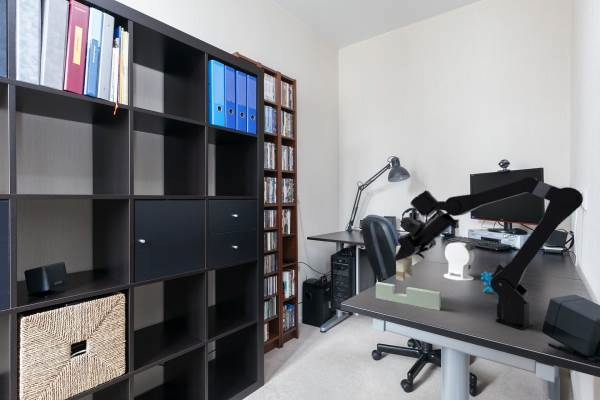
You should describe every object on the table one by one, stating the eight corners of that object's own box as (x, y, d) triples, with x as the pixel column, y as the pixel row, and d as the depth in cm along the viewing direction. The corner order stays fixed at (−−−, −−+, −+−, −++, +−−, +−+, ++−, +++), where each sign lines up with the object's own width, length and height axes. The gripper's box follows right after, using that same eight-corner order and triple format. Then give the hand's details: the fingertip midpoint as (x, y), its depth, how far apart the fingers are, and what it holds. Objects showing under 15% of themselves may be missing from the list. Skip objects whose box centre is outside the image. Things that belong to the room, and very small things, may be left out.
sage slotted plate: (440, 308, 96) (440, 292, 96) (439, 310, 94) (439, 293, 94) (377, 296, 107) (377, 282, 107) (375, 298, 106) (375, 283, 106)
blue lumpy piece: (496, 295, 103) (478, 269, 110) (483, 304, 106) (466, 278, 113) (517, 295, 108) (498, 271, 114) (503, 304, 111) (486, 279, 118)
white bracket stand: (480, 278, 130) (480, 243, 130) (464, 282, 125) (464, 245, 125) (454, 272, 141) (454, 239, 141) (437, 276, 135) (437, 241, 135)
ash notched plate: (405, 275, 108) (405, 244, 108) (412, 276, 107) (412, 244, 107) (396, 279, 103) (396, 246, 103) (403, 280, 102) (403, 247, 102)
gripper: (426, 208, 109) (396, 237, 117) (403, 209, 95) (371, 242, 103) (450, 232, 104) (417, 261, 111) (429, 237, 90) (393, 270, 98)
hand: (400, 258), depth 106 cm, fingers closed on ash notched plate, 7 cm apart
